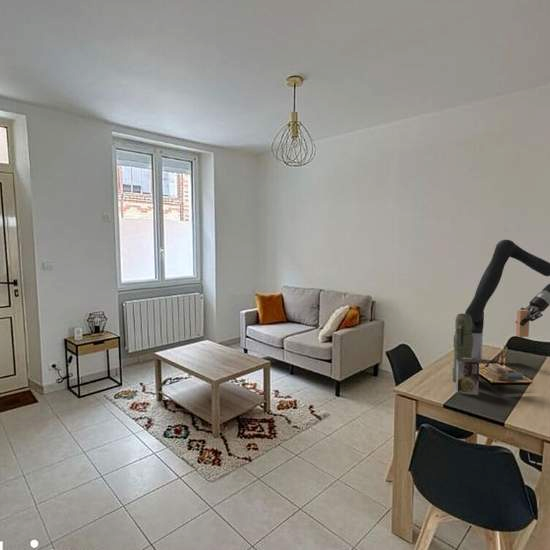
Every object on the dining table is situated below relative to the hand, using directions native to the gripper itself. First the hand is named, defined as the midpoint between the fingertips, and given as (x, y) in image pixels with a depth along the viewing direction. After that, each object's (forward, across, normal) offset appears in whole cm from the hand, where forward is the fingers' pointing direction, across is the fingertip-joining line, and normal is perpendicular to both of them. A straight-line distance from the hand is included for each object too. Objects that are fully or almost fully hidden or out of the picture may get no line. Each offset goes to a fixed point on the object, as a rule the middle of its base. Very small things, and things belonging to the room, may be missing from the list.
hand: (519, 324), depth 193 cm
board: (+3, 0, +6) cm, 7 cm away
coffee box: (+47, +19, -8) cm, 52 cm away
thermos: (+44, +6, -4) cm, 44 cm away
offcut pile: (+29, +5, +8) cm, 31 cm away
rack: (+27, +5, +13) cm, 30 cm away
